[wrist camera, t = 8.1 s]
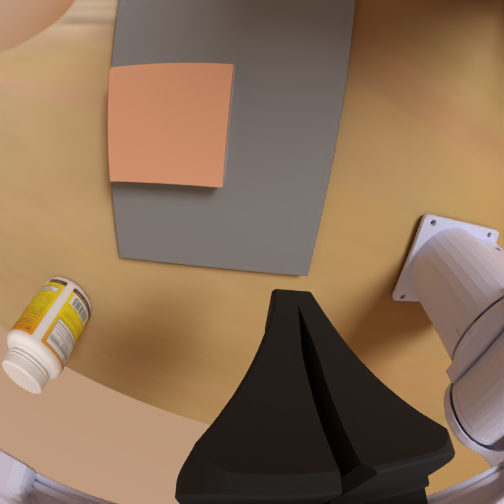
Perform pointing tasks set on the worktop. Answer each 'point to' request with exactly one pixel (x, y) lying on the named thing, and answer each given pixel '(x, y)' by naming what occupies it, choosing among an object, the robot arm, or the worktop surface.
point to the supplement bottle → (46, 334)
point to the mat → (243, 130)
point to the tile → (169, 123)
